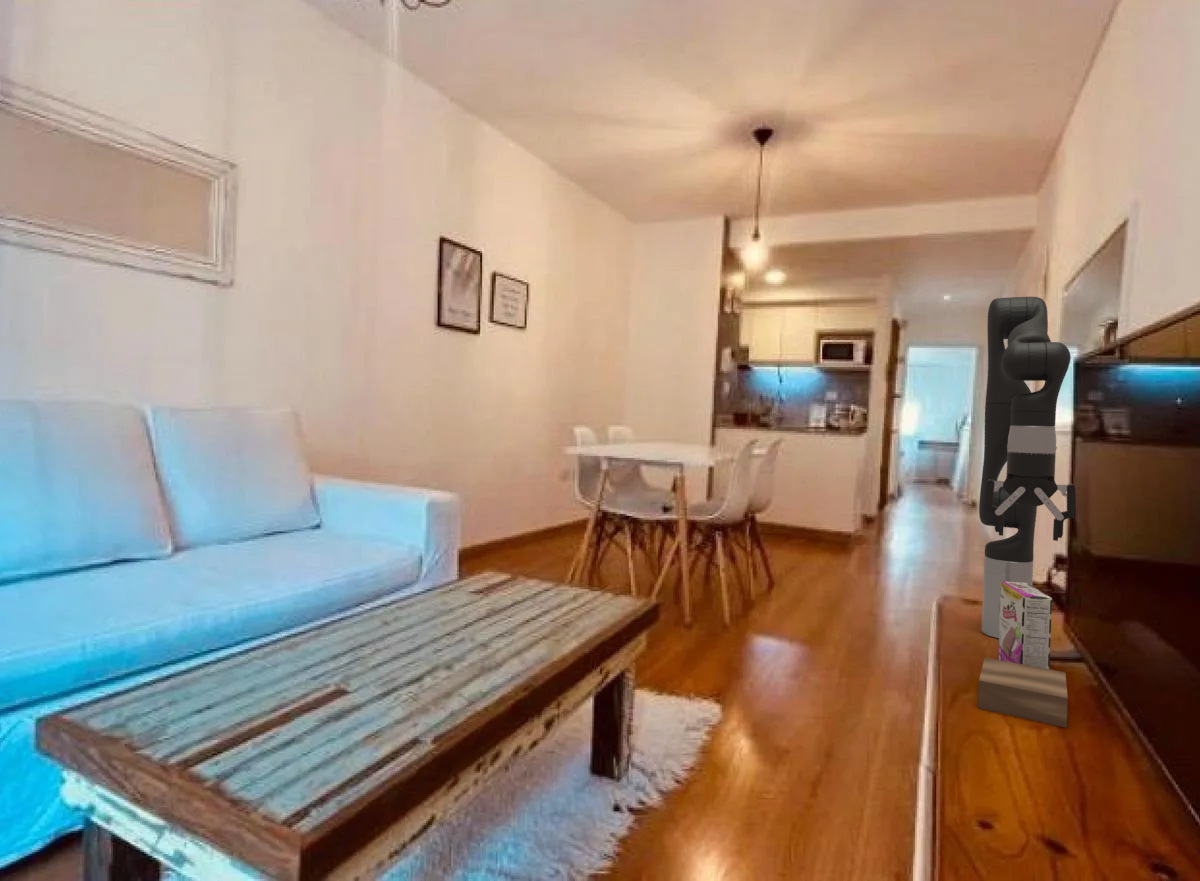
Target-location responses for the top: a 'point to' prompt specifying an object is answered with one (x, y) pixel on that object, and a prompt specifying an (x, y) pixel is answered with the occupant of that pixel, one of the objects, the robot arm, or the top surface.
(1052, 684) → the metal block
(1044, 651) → the candy bar box
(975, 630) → the top surface
